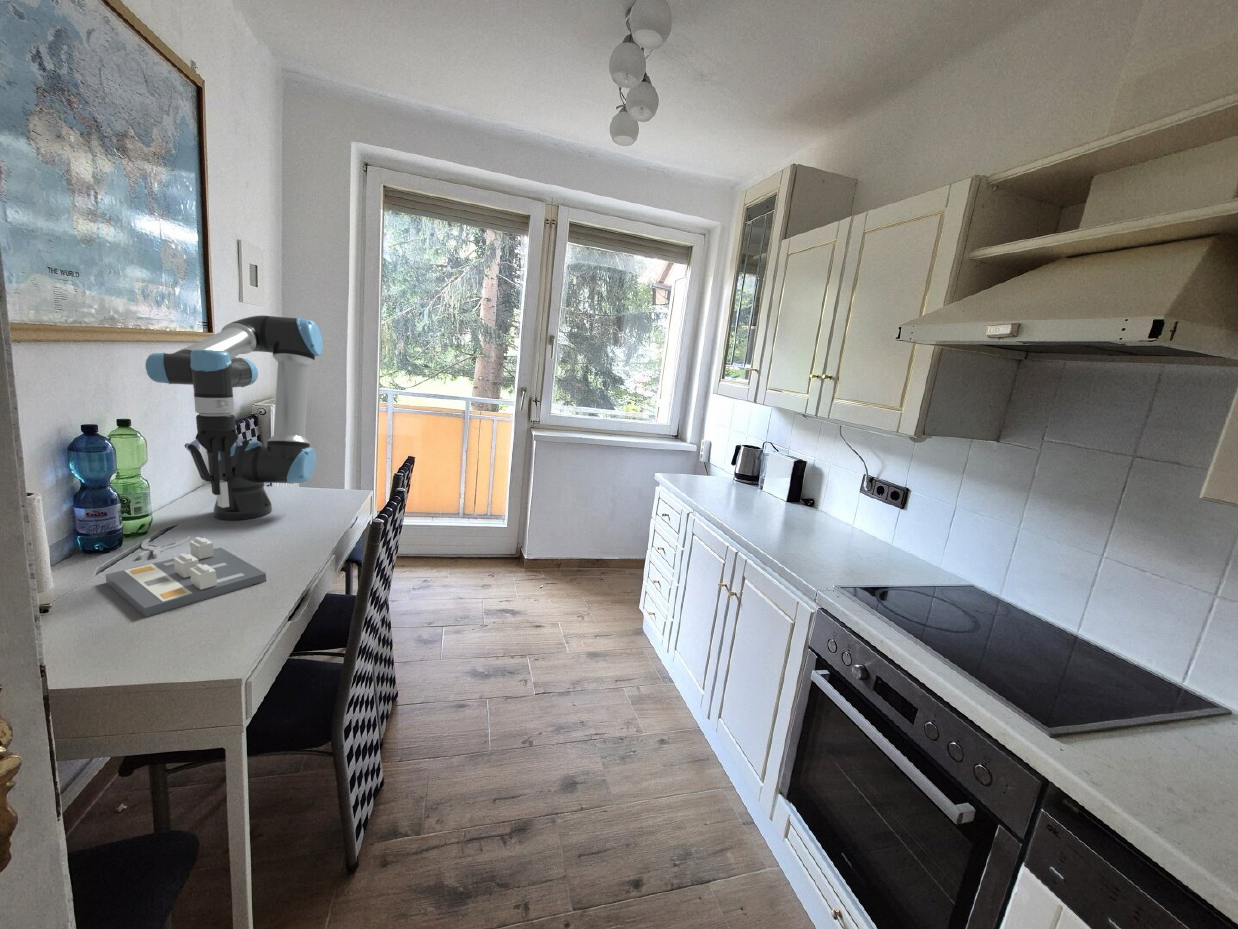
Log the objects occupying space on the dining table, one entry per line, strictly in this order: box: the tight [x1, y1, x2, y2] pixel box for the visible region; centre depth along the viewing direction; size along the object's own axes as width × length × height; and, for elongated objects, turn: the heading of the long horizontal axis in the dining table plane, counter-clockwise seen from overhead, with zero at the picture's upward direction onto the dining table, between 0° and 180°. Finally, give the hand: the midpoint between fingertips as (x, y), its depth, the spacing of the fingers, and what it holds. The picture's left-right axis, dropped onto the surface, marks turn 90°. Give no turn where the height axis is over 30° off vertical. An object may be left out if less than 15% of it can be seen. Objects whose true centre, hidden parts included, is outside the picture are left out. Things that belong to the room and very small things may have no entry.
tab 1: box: [189, 536, 214, 559], centre depth 126 cm, size 3×5×4 cm, turn 58°
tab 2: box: [173, 552, 199, 578], centre depth 117 cm, size 3×5×4 cm, turn 58°
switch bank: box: [105, 547, 267, 618], centre depth 118 cm, size 22×24×2 cm
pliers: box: [138, 535, 192, 561], centre depth 134 cm, size 10×2×15 cm
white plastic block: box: [190, 564, 217, 590], centre depth 112 cm, size 3×5×4 cm, turn 58°
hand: (223, 506), depth 129 cm, fingers closed
